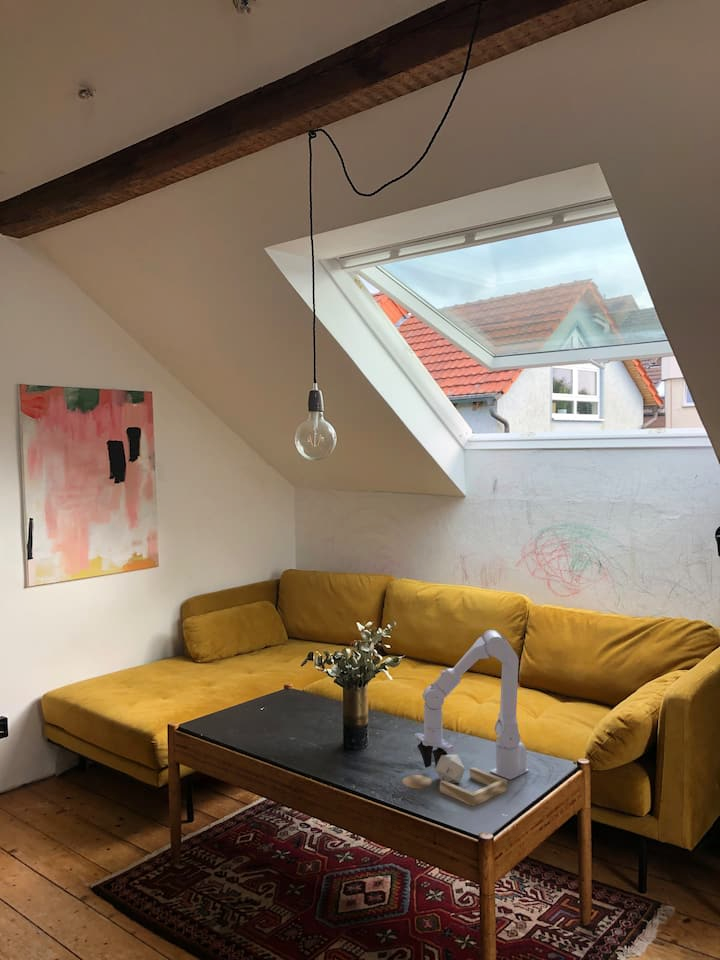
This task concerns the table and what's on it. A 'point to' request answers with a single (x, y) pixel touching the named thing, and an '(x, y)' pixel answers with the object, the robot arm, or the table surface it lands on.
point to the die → (450, 768)
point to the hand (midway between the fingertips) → (433, 769)
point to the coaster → (417, 781)
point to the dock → (477, 797)
